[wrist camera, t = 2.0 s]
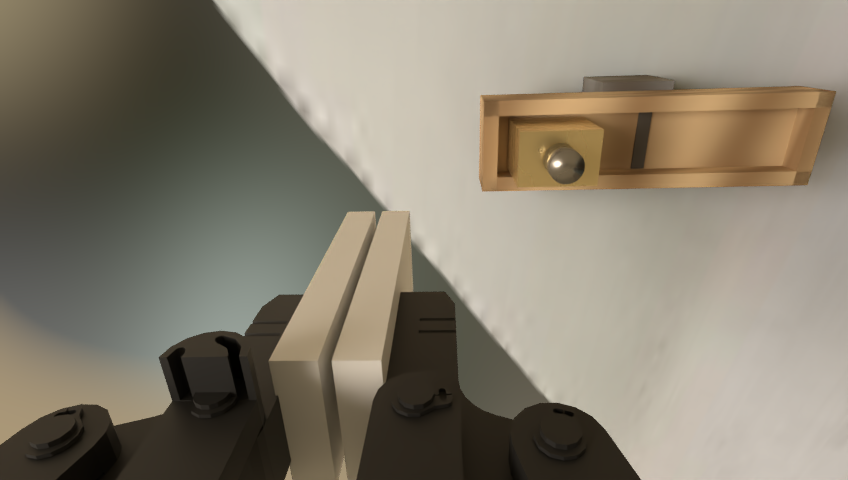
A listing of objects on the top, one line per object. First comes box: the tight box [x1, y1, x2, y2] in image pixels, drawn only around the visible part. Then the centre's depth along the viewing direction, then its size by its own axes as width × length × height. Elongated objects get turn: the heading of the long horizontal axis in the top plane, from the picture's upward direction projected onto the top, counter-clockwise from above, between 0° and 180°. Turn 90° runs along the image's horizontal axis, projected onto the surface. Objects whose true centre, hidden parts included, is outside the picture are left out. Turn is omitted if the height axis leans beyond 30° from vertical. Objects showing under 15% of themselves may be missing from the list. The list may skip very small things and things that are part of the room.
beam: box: [479, 75, 836, 191], centre depth 28 cm, size 18×6×7 cm, turn 92°
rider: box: [507, 116, 604, 187], centre depth 24 cm, size 4×3×6 cm
